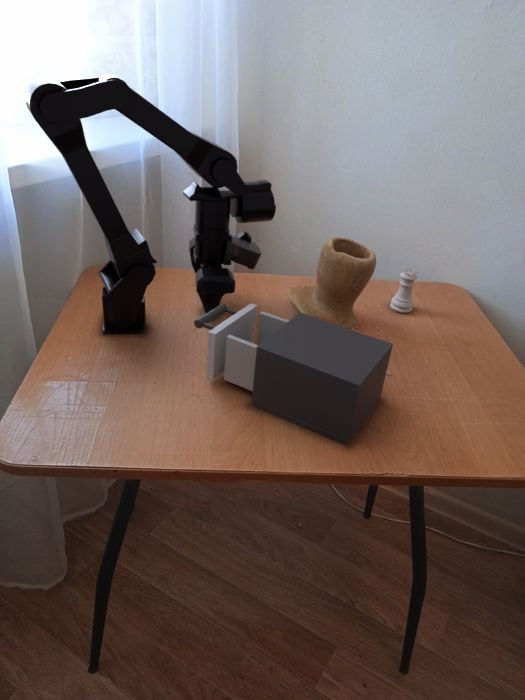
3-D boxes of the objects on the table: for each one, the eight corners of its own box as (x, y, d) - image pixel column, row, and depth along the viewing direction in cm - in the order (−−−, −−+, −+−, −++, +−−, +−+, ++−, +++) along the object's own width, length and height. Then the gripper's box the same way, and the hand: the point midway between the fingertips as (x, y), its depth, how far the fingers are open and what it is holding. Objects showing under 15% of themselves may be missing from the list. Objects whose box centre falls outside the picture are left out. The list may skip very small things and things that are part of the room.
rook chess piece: (415, 308, 111) (424, 271, 107) (407, 316, 108) (417, 278, 104) (394, 301, 113) (402, 264, 109) (386, 309, 110) (394, 271, 106)
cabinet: (251, 405, 79) (256, 346, 74) (292, 366, 89) (299, 312, 84) (346, 446, 74) (359, 385, 69) (379, 399, 83) (393, 343, 78)
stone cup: (374, 334, 100) (391, 256, 93) (312, 339, 97) (325, 258, 89) (339, 297, 113) (352, 224, 105) (284, 300, 109) (293, 226, 101)
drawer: (183, 368, 84) (184, 322, 80) (226, 338, 93) (228, 295, 89) (287, 411, 77) (293, 364, 73) (322, 374, 86) (329, 330, 82)
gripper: (270, 245, 87) (261, 332, 95) (250, 208, 103) (244, 285, 111) (198, 244, 85) (195, 333, 93) (189, 206, 101) (188, 285, 109)
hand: (208, 307), depth 102 cm, fingers open, 8 cm apart
